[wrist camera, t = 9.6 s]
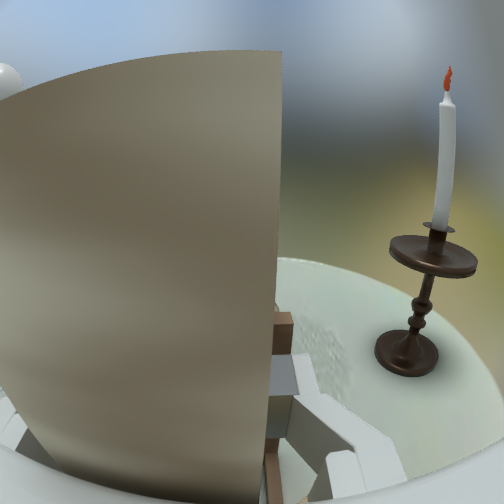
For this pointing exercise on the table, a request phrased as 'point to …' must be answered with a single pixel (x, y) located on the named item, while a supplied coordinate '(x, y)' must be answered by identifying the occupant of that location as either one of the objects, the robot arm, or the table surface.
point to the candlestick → (427, 262)
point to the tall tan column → (144, 270)
